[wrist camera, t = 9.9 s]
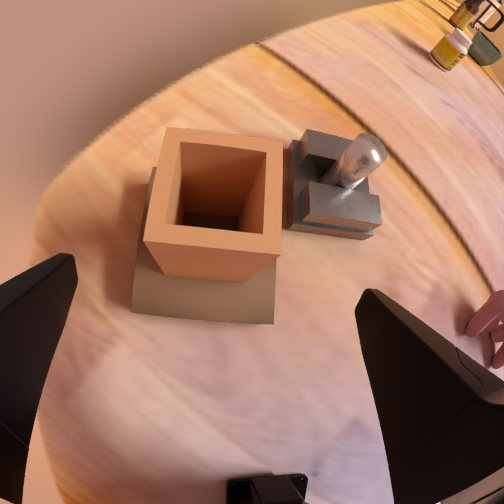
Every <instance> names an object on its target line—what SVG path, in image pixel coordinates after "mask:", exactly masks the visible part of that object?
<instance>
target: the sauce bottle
mask: <svg viewBox="0 0 504 504" xmlns="http://www.w3.org/2000/svg"><path fill="white" fill-rule="evenodd" d="M484 1H485V0H466V1H463V3H462V4H461V5H460V6H459V7H458V9H457V10H456V11H455V12H454V13H453V15H452V16H451V17H450V19H449V22H450V23H451V24H452V25H453V26H454V27H455V28H458V29H460V30H461V31H462V30H463V29H464V28H465V27H466V26H467V25H468V24H469V23H470V22H471V21H472V19H473V18H474V17H475V16H476V14H477V13H478V12H479V6H480V5H481V3H482V2H484Z"/></svg>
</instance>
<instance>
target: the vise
mask: <svg viewBox="0 0 504 504" xmlns="http://www.w3.org/2000/svg"><path fill="white" fill-rule="evenodd" d="M386 157H387V153H386V149H385V147H384V145H383V144H382V142H381V141H380V140H379V139H378V138H377V137H375V136H374V135H372V134H369V133H361V134H359V135H358V136H357V137H356V138H355V140H354V141H353V140H349V139H345V138H342V137H338V136H334V135H330V134H326V133H322V132H318V131H313V130H309V129H306V131H305V133H304V134H303V136H302V138H301V139H300V141H297V140H292V142H291V144H290V146H289V147H288V222H287V230H290V231H298V232H306V233H314V234H322V235H330V236H337V237H345V238H352V239H359V240H365V239H367V238H369V237H371V236H373V229H375V228H377V227H378V226H380V225H382V219H381V210H380V201H379V196H378V195H373V194H370V193H369V185H368V177H367V176H368V175H370V174H371V173H372V172H373V171H374V170H375V169H376V168H377V167H379V166H380V165H381V164H382V163H383V162H384V161H385V160H386Z"/></svg>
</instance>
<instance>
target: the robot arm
mask: <svg viewBox="0 0 504 504" xmlns="http://www.w3.org/2000/svg"><path fill="white" fill-rule="evenodd" d="M77 283H78V276H77V270H76V264H75V259H74V256H73V255H72V254H67V253H59V254H57V255H55V256H53V257H51V258H49V259H47V260H45V261H43V262H42V263H40V264H38V265H36V266H34V267H32V268H30V269H28V270H26V271H25V272H23V273H21V274H19V275H17V276H15V277H14V278H12V279H10V280H8V281H7V282H5V283H3V284H1V285H0V498H2V499H4V500H7V501H9V502H11V503H14V504H22V496H23V485H24V477H25V469H26V463H27V457H28V451H29V444H30V439H31V434H32V430H33V425H34V421H35V417H36V413H37V409H38V405H39V401H40V398H41V394H42V390H43V387H44V384H45V380H46V377H47V374H48V371H49V368H50V365H51V362H52V359H53V356H54V353H55V350H56V348H57V345H58V342H59V339H60V337H61V334H62V332H63V329H64V326H65V323H66V319H67V316H68V312H69V309H70V306H71V302H72V299H73V296H74V293H75V290H76V287H77ZM355 318H356V323H357V328H358V334H359V339H360V345H361V350H362V355H363V359H364V362H365V366H366V370H367V373H368V377H369V381H370V385H371V389H372V393H373V397H374V401H375V405H376V409H377V413H378V418H379V422H380V427H381V431H382V436H383V441H384V445H385V450H386V456H387V461H388V464H389V465H388V467H389V473H390V478H391V485H392V491H393V498H394V504H436V503H438V502H440V503H441V504H504V381H503V380H501V379H500V378H499V377H497V376H496V375H494V374H493V373H491V372H490V371H489V370H487V369H486V368H484V367H483V366H482V365H480V364H479V363H477V362H476V361H475V360H473V359H472V358H470V357H469V356H468V355H467V354H465V353H464V352H463V351H461V350H460V349H459V348H457V347H455V346H454V345H453V344H452V343H451V342H449V341H448V340H447V339H445V338H444V337H443V336H441V335H440V334H439V333H437V332H436V331H435V330H433V329H432V328H431V327H429V326H428V325H427V324H425V323H424V322H423V321H421V320H420V319H418V318H417V317H416V316H414V315H413V314H412V313H410V312H409V311H407V310H406V309H405V308H403V307H402V306H401V305H399V304H398V303H396V302H395V301H394V300H392V299H391V298H389V297H388V296H386V295H385V294H384V293H382V292H381V291H379V290H378V289H370V288H368V289H366V290H365V291H364V292H363V294H362V296H361V298H360V300H359V302H358V304H357V306H356V308H355ZM301 478H303V479H302V480H301V481H299V480H300V479H301ZM307 482H308V478H307V476H306V475H305V474H296V475H288V476H286V475H279V476H267V477H255V478H248V479H230V480H228V481H227V483H226V504H308V503H305V501H304V500H305V494H306V488H307ZM231 484H236V485H234V486H231Z"/></svg>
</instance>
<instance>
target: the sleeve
mask: <svg viewBox="0 0 504 504" xmlns="http://www.w3.org/2000/svg"><path fill="white" fill-rule="evenodd" d="M282 183H283V142H280V141H275V140H269V139H263V138H257V137H251V136H244V135H237V134H229V133H222V132H213V131H204V130H194V129H183V128H170V127H167V129H166V133H165V137H164V140H163V144H162V148H161V152H160V157H159V161H158V165H157V170H156V174H155V179H154V183H153V188H152V193H151V198H150V203H149V209H148V214H147V220H146V225H145V231H144V238H143V241H144V243H145V245H146V246H147V248H148V249H149V251H150V253H151V254H152V256H153V257H154V259H155V260H156V262H157V263H158V265H159V267H160V268H161V270H162V271H163V273H164V274H165V275H166V276H176V277H186V278H196V279H206V280H217V281H228V282H239V283H245V282H247V281H248V280H249V279H250V278H252V277H253V276H254V275H256V274H257V273H258V272H259V271H261V270H262V269H263V268H265V267H266V266H267V265H268V264H270V263H271V262H272V261H273V260H275V259H276V258H277V257H279V256H280V255H281V231H282ZM184 212H193V213H203V214H212V215H221V216H230V217H238V228H237V231H229V230H220V229H211V228H201V227H191V226H182V224H183V217H184Z"/></svg>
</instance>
